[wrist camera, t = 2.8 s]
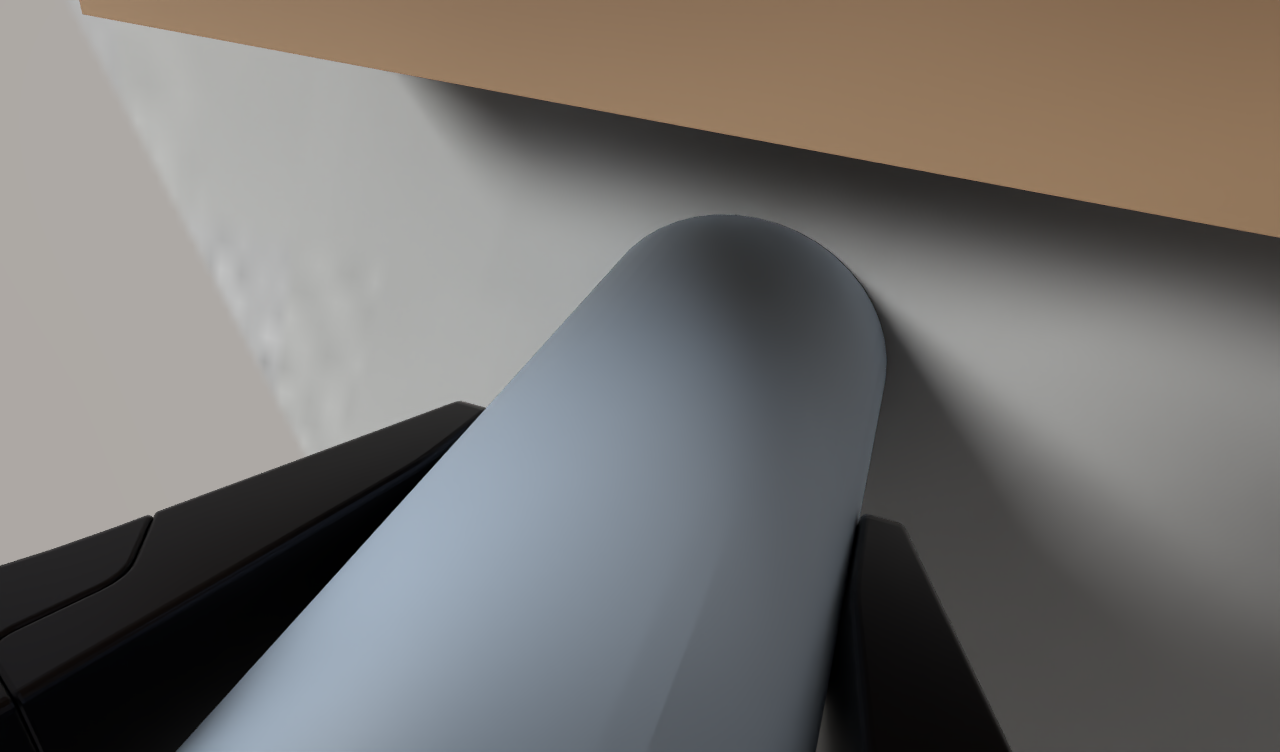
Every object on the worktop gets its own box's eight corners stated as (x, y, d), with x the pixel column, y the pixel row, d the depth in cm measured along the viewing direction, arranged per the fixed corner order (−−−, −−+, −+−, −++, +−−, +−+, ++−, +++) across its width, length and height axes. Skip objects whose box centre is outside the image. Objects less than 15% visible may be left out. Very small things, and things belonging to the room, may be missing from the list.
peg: (849, 510, 12) (652, 1469, 5) (586, 437, 13) (95, 1156, 6) (923, 252, 10) (768, 1267, 3) (604, 186, 11) (-135, 824, 4)
